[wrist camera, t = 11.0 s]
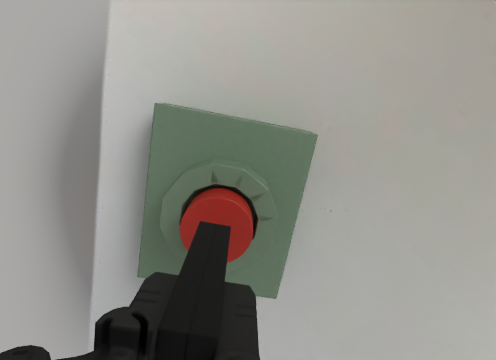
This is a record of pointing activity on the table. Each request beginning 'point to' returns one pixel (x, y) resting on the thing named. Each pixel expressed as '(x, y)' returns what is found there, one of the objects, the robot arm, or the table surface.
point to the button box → (227, 177)
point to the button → (220, 219)
